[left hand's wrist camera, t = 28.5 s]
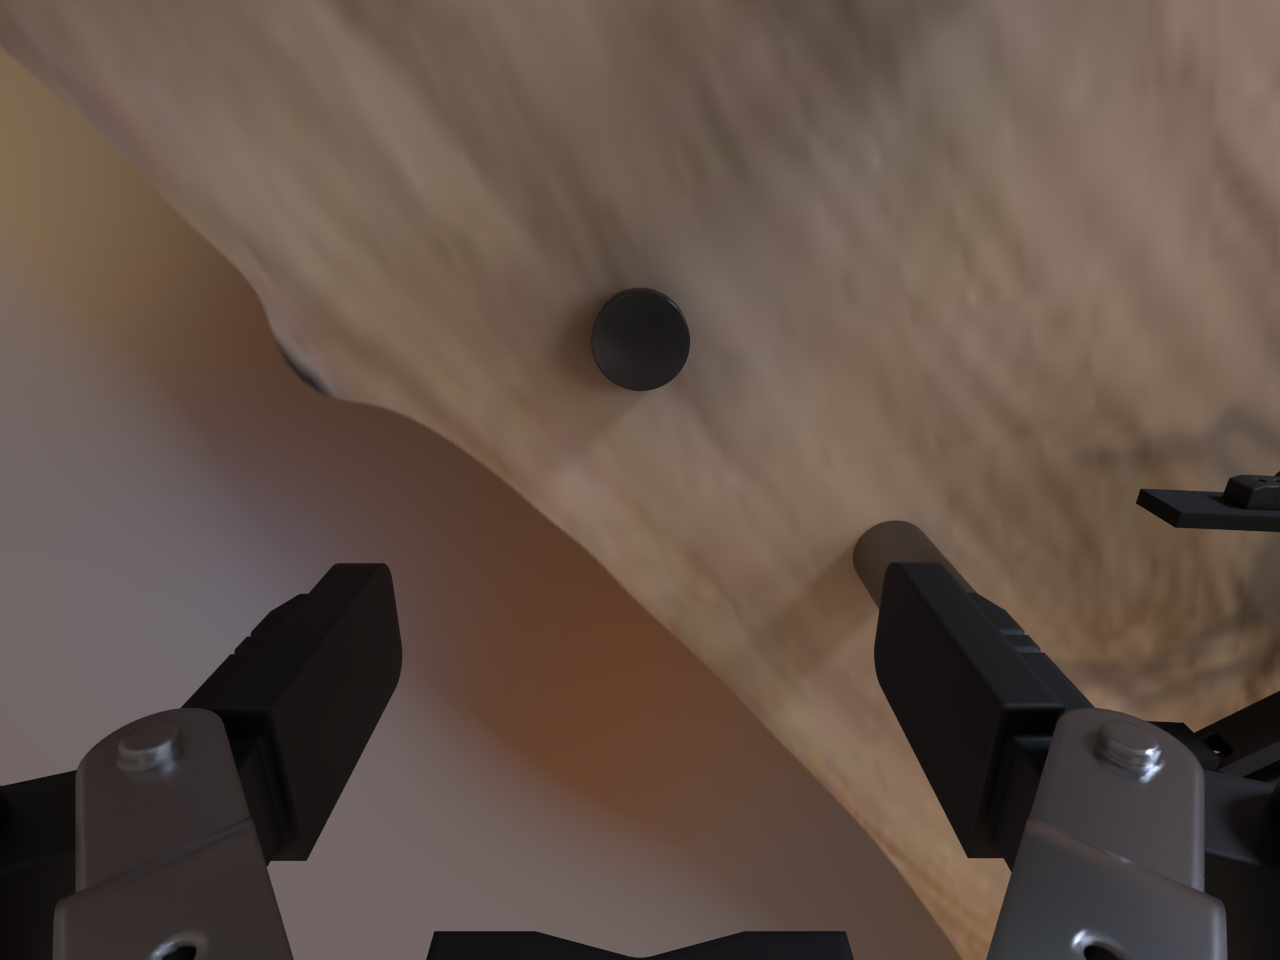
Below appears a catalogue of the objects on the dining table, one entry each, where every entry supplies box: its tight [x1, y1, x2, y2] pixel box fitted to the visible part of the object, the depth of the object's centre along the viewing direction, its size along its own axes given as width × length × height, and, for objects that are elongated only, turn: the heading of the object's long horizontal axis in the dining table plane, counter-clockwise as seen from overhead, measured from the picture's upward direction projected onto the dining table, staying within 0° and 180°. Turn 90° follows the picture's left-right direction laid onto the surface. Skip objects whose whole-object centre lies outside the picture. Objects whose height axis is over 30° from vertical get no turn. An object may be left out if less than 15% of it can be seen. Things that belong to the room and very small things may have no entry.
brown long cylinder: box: [853, 521, 977, 610], centre depth 34 cm, size 4×4×16 cm
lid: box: [591, 288, 690, 391], centre depth 36 cm, size 5×5×2 cm
